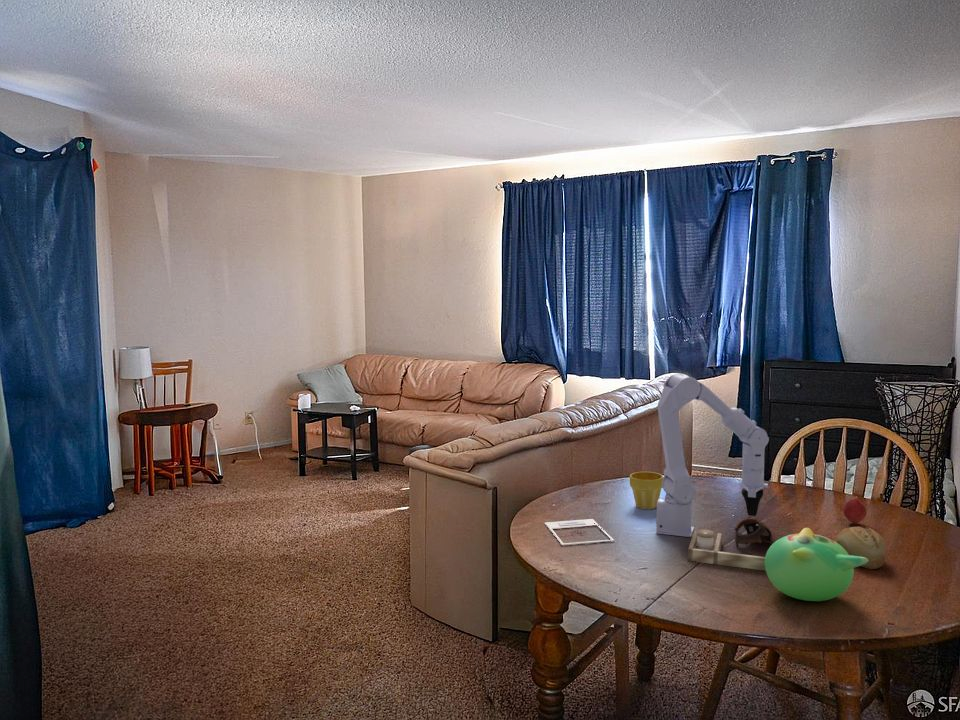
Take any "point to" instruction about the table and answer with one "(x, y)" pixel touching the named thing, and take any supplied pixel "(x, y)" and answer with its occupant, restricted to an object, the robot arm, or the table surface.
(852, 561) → the toy bird
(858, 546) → the bread roll
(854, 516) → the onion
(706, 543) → the cream jar
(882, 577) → the table surface
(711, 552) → the bracket
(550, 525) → the photo frame
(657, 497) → the plant pot
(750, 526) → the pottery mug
